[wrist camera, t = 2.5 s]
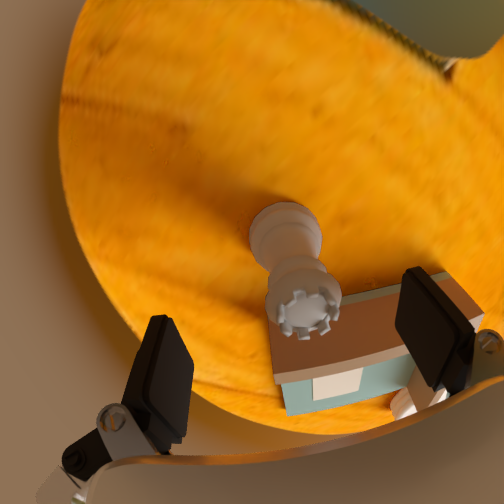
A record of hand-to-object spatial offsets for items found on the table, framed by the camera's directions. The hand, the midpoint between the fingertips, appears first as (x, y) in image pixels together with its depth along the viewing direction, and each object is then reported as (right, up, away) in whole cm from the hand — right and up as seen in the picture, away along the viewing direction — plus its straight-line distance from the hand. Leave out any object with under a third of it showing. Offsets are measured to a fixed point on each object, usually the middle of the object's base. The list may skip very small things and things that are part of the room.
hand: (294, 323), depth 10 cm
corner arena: (+9, -7, +13) cm, 17 cm away
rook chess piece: (0, +4, +7) cm, 8 cm away
